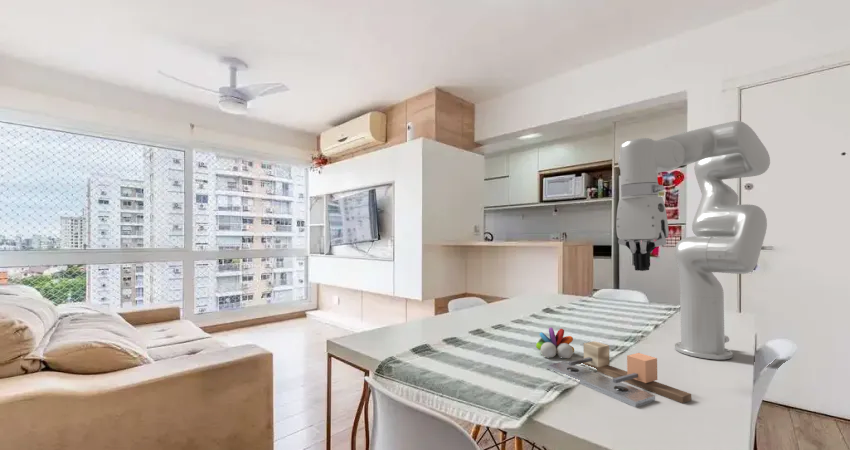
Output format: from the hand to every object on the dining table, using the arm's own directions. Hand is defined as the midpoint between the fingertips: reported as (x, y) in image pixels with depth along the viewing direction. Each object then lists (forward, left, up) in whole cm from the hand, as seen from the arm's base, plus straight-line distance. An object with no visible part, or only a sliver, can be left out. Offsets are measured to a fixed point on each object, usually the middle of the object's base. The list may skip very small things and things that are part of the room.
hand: (642, 270), depth 87 cm
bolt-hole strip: (+16, -1, -24) cm, 29 cm away
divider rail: (+11, +1, -24) cm, 26 cm away
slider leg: (+11, +5, -22) cm, 25 cm away
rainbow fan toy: (+9, -19, -24) cm, 32 cm away
